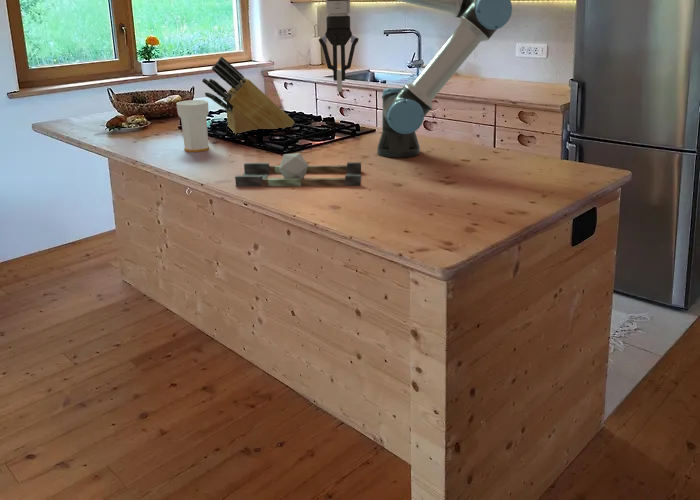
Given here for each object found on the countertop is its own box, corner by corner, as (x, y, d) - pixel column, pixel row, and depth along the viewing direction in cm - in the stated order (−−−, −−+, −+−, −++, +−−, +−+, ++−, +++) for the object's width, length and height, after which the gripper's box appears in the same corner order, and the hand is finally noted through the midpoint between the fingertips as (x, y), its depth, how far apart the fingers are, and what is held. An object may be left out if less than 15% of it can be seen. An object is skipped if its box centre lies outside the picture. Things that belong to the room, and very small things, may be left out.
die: (301, 186, 213) (315, 157, 214) (275, 173, 211) (289, 144, 212) (297, 189, 221) (310, 161, 222) (271, 176, 220) (285, 148, 221)
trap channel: (361, 171, 227) (361, 162, 225) (360, 185, 211) (360, 176, 210) (245, 171, 228) (244, 162, 227) (235, 186, 212) (235, 176, 211)
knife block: (205, 133, 286) (198, 55, 275) (286, 125, 300) (282, 51, 289) (212, 138, 277) (205, 58, 266) (295, 129, 290) (292, 53, 279)
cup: (218, 147, 261) (214, 101, 255) (197, 154, 252) (192, 105, 246) (196, 144, 267) (192, 99, 260) (174, 150, 258) (169, 103, 251)
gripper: (316, 15, 215) (318, 93, 224) (358, 15, 215) (359, 92, 223) (318, 14, 222) (320, 89, 231) (359, 14, 222) (359, 89, 230)
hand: (339, 90), depth 227 cm, fingers closed
